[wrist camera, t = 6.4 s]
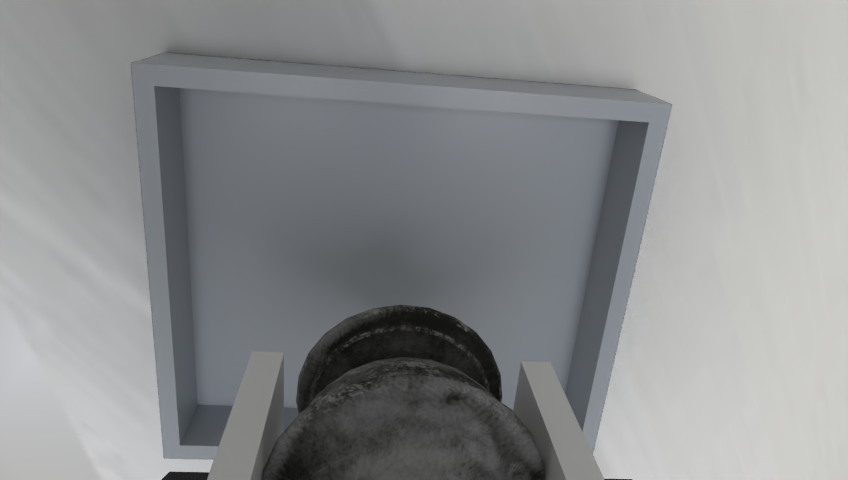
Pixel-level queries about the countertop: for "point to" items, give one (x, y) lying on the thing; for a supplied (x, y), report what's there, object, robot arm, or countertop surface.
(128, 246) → the countertop surface
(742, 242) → the countertop surface
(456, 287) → the tray
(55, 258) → the countertop surface
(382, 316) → the salt shaker
